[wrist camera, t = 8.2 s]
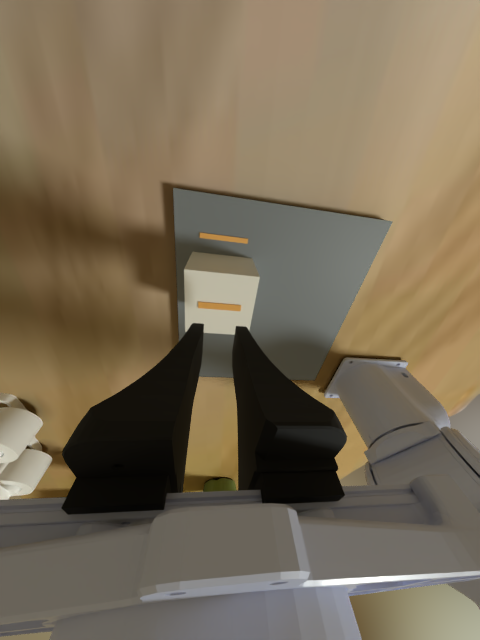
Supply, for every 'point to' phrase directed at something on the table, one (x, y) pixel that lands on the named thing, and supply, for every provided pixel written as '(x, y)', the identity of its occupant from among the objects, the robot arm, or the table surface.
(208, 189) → the table surface
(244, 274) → the white drawer cabinet
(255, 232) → the plate
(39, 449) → the skeletal toy car
